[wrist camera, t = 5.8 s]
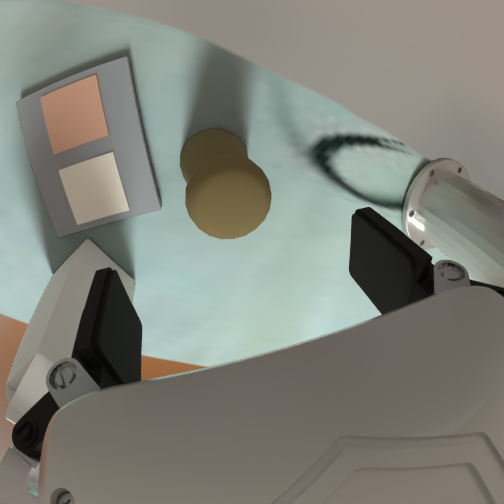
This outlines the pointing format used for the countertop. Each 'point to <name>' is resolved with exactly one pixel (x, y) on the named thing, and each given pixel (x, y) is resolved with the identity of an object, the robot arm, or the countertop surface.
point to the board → (89, 148)
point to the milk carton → (55, 326)
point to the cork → (223, 185)
